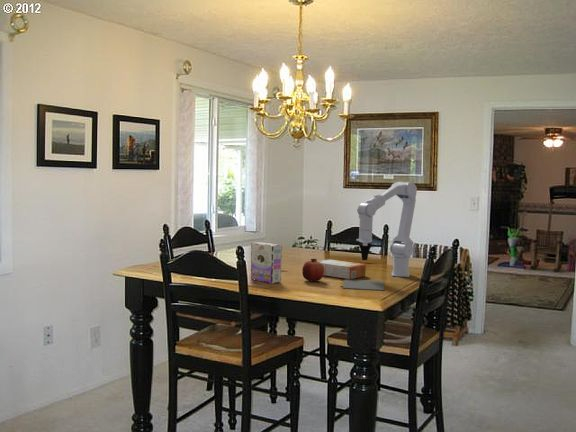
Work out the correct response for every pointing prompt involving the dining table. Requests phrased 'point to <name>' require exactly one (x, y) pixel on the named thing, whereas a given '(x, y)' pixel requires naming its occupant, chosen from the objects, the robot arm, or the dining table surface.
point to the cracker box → (343, 269)
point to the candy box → (266, 262)
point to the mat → (363, 285)
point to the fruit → (313, 270)
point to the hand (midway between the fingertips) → (364, 260)
